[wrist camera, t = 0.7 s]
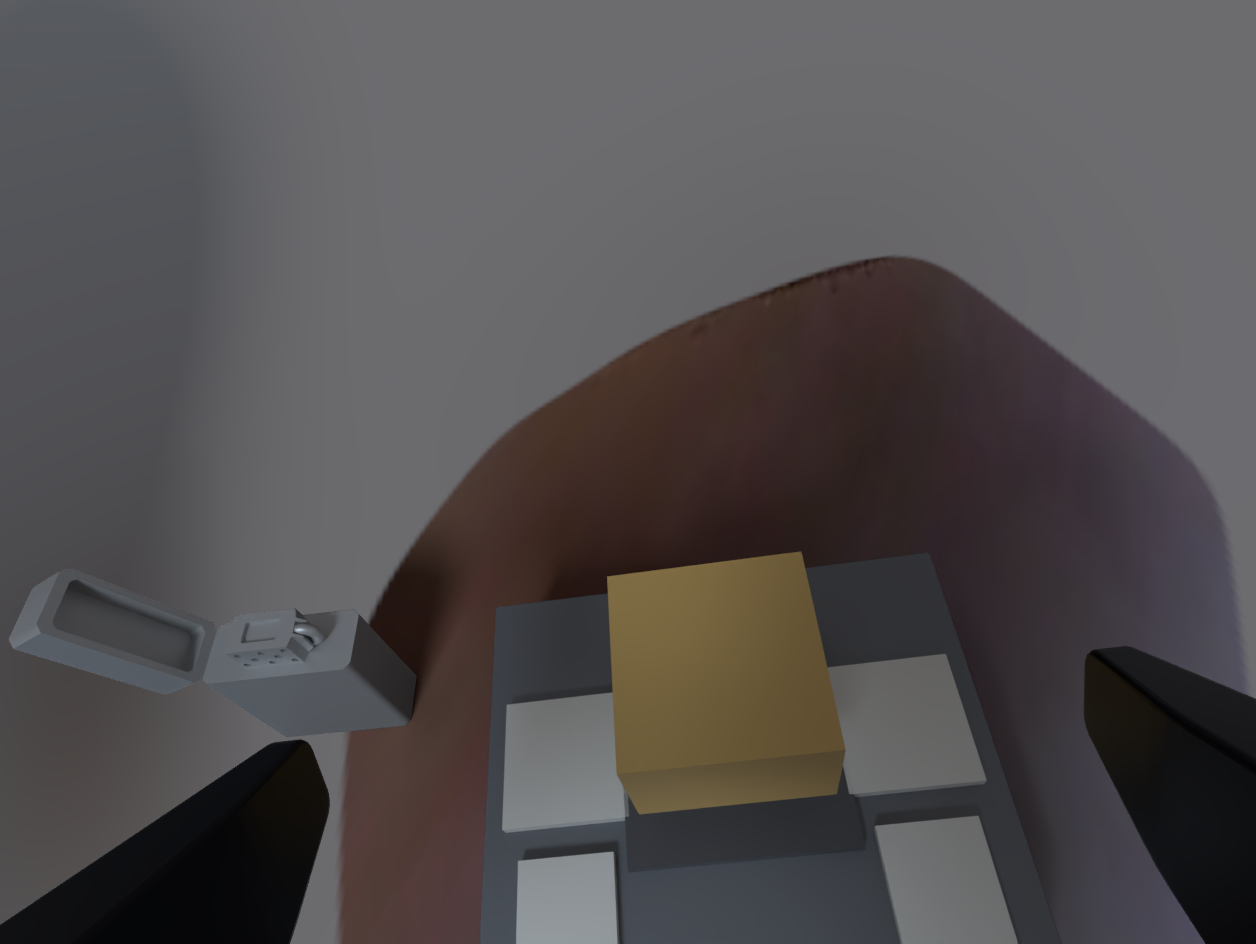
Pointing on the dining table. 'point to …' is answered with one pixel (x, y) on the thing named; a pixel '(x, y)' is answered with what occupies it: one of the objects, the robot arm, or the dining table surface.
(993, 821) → the keypad
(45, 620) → the lighter
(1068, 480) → the dining table surface
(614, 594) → the key
